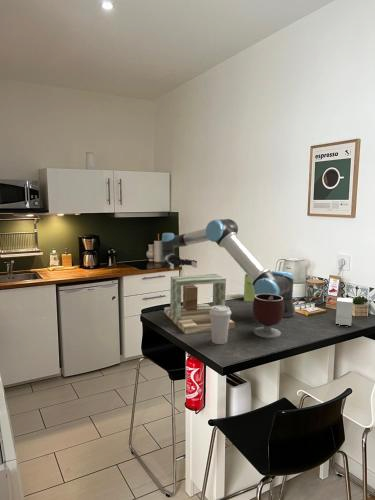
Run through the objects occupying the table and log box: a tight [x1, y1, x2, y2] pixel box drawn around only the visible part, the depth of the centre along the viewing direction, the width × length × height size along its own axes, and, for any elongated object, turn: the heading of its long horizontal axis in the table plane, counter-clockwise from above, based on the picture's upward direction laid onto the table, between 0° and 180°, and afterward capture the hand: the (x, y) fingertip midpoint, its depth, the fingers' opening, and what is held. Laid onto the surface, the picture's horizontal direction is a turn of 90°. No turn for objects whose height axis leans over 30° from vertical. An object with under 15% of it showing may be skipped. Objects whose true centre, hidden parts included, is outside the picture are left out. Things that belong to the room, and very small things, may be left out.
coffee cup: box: [209, 305, 232, 345], centre depth 167 cm, size 10×10×15 cm
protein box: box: [243, 273, 256, 303], centre depth 237 cm, size 10×15×16 cm
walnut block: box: [182, 285, 199, 310], centre depth 206 cm, size 6×6×12 cm
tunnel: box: [163, 273, 236, 335], centre depth 195 cm, size 34×25×22 cm
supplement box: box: [335, 297, 354, 327], centre depth 194 cm, size 7×7×13 cm
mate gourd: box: [252, 294, 284, 339], centre depth 178 cm, size 16×14×20 cm
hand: (184, 266), depth 211 cm, fingers open, 13 cm apart
